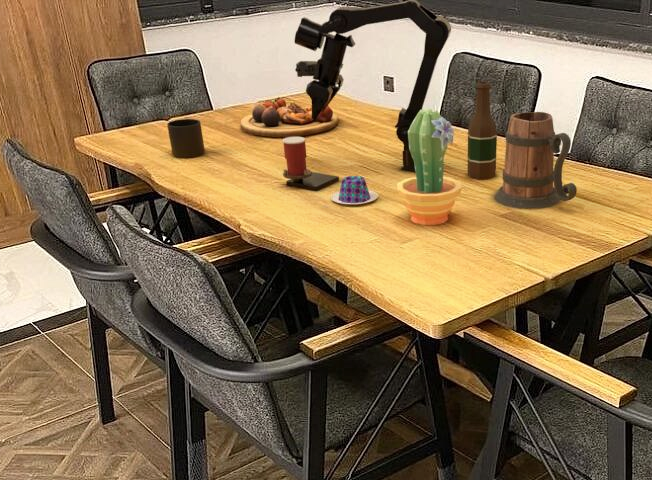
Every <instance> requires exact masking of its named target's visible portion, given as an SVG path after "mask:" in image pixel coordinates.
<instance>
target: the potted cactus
mask: <svg viewBox="0 0 652 480" xmlns="http://www.w3.org/2000/svg"><path fill="white" fill-rule="evenodd" d="M454 135H455V130H454V128H453V125H452V123H451V122H450V121H448V120H447V119H446V118H444V117H443V116H442V115H441V114H440V113H439V111H438V110H437V109H434V110H432V108H428V109H426V110H424V109H422V110H420V111H419V112H418V114H417V116H416V117H415V119H414V121H413V122H412V124H411V126H410V128H409V130H408V139H409V150H410V152H411V155H412V157H413V160H414V165H415V172H414V173H415V176H414V177H409V178H405V179H403V180H401V181H400V182H398V183H396V190H397V194H398V196H399V197H401V199H402V203H403V205H404V207H405V209H406V210H407V212H408V213H409V214H410V215H411V216H410V221H411V222H413V223H415V224H417V225H424V226H435V225H440V224H444V223H446V222H447V221H448V220H449V216H448V214H450V212H451V210H452V209H453V208H454V206H455V203H456V200H457V197H458V196H459V195H460V194H461V191H462V183H461V182H460V181H459V180H456V179H454V178H452V177H448V176H444V162H445V160H444V159H445V156H446V153H447V149H448V144H450V145H454Z"/></svg>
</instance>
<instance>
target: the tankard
mask: <svg viewBox="0 0 652 480" xmlns="http://www.w3.org/2000/svg"><path fill="white" fill-rule="evenodd" d="M507 127H508V128H507V130H506V132H505V155H504V165H503V166H504V167H503V168H504V169H503V170H502V177H501V178H502V185H501V186H500V187H499V188H498V191H497V192H496V193H495V194H494V195H493V200H495V202H497V204H501V205H502V206H506V207H509V208H514V209H525V210H526V209H527V210H528V209H529V210H530V209H531V210H534V209H543V208H549V207H552V206H555V205H557V204H559V203H560V202H561V201H562V202H569V201H571V200H573V199H574V198H575V197H576V195H577V192H578V190H577V186H576V185H575V183H573V182H569V183H566V184H563V177H562V176H563V166H564V163H565V160H566V158H567V156H568V154H569V153H570V150H571V144H572V142H571V141H572V140H571V137H570V136H569V134H567V133H566V132H561V133H557V134H556V132H555V127H554V119H553V115H551V113H548V112H544V111H532V112H531V111H530V112H529V111H528V112H527V111H526V112H524V111H522V112H516V113H513V114H511V115H510V118H509V122H508V126H507ZM556 154H557V155H558V154H559V155H558V156H557V158H556V161H555V156H554V155H556ZM554 161H555V162H554Z"/></svg>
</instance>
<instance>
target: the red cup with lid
mask: <svg viewBox="0 0 652 480" xmlns="http://www.w3.org/2000/svg"><path fill="white" fill-rule="evenodd" d="M306 141H307V140H306V138H305V137H304V136H290V137H283V138H282V143H283V152H284V153H283V154H284V159H285V160H286V170H288V174H289V175H303V174H304V170H307V169H308V168H307V159H306V158H307V157H308V156H307V147H306Z"/></svg>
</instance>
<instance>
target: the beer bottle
mask: <svg viewBox="0 0 652 480" xmlns="http://www.w3.org/2000/svg"><path fill="white" fill-rule="evenodd" d="M475 87H476V99H475V110H474V114H473V116H472V118H471V119H470V121H469V124H468V126H467V127H468V129H467V175H468V176H469V178H471V179H475V180H489V179H490V180H491V178H494V177H495V176H496V173H497V146H498V143H497V142H498V130H497V129H498V128H497V123H496V122H495V120H494V118H493V116H492V114H491V98H490V94H491V93H490V89H491V83H490V82H488V81H478V82H477V83H476V85H475Z"/></svg>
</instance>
